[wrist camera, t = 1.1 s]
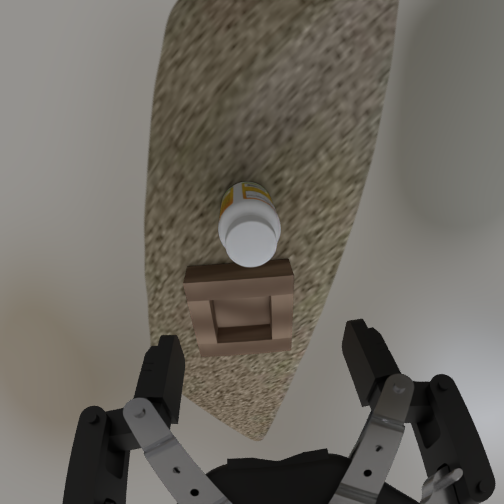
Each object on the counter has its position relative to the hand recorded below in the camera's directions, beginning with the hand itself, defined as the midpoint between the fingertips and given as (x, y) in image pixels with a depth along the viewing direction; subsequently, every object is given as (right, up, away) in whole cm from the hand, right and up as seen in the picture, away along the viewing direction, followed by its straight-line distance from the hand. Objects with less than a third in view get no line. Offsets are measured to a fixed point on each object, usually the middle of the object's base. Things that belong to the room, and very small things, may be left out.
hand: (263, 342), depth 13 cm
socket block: (-2, -2, +24) cm, 24 cm away
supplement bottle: (-1, +9, +18) cm, 20 cm away
